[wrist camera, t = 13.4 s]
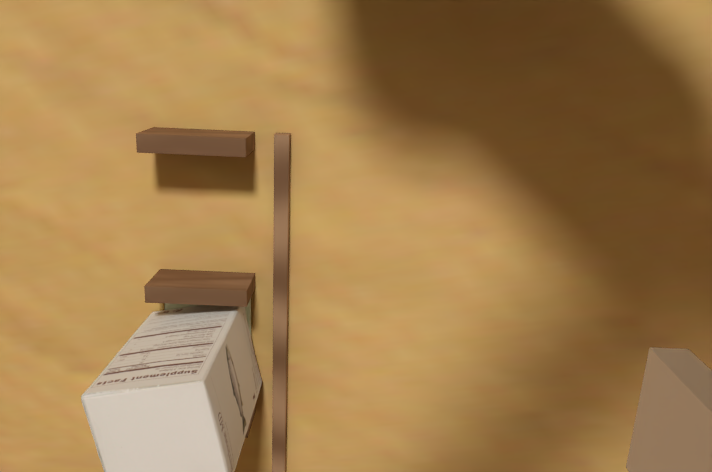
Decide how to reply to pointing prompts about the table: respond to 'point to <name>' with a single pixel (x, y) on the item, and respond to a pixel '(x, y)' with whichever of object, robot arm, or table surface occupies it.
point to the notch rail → (231, 284)
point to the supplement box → (177, 393)
